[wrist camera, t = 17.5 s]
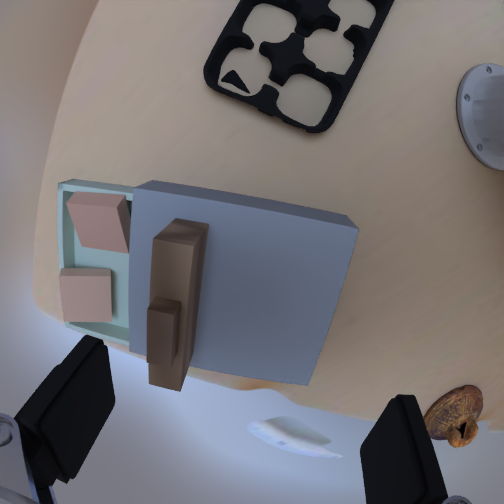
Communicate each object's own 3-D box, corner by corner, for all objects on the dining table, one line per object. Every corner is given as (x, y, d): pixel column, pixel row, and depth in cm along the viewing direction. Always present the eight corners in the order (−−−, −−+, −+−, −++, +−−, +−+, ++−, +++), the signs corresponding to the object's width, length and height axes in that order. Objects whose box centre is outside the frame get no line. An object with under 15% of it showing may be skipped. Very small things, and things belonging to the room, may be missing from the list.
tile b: (59, 275, 31) (61, 267, 32) (64, 321, 33) (65, 312, 34) (110, 276, 33) (110, 268, 35) (112, 321, 35) (111, 312, 37)
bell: (411, 437, 44) (422, 468, 37) (436, 387, 40) (453, 420, 33) (463, 426, 43) (477, 454, 36) (490, 378, 39) (509, 406, 32)
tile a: (125, 194, 29) (116, 207, 28) (135, 240, 33) (128, 253, 32) (75, 191, 29) (66, 203, 28) (89, 234, 34) (81, 246, 32)
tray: (151, 189, 32) (140, 194, 29) (143, 334, 38) (135, 348, 35) (72, 179, 32) (58, 183, 29) (76, 315, 38) (65, 326, 35)
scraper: (209, 223, 28) (186, 256, 20) (193, 353, 33) (175, 406, 25) (175, 217, 28) (142, 247, 20) (165, 346, 33) (142, 398, 25)
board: (346, 215, 32) (359, 228, 27) (304, 358, 38) (307, 385, 33) (152, 180, 32) (133, 187, 27) (143, 327, 38) (129, 351, 33)
